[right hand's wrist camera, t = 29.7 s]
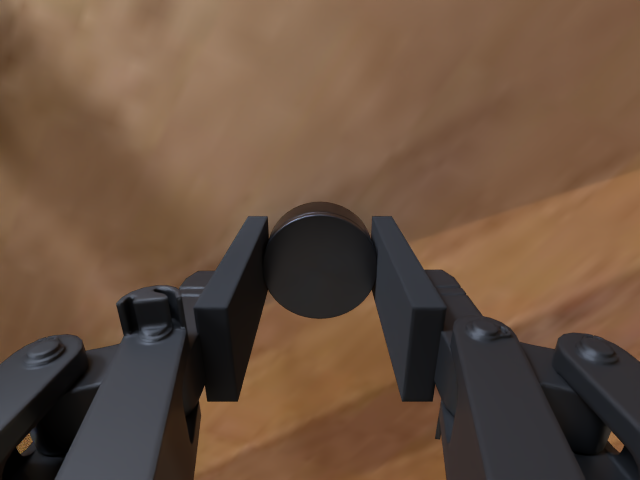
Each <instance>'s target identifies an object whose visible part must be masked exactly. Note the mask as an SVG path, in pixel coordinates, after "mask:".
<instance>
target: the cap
mask: <svg viewBox="0 0 640 480" xmlns="http://www.w3.org/2000/svg"><path fill="white" fill-rule="evenodd" d="M262 263H263V277H264V281H265V284H266V286H267V288H268V290H269V292H270V293H271V295H272V296H273V297H274V299H275V300H276V301H277V302H278V303H279V304H280V305H282V306H283V307H284V308H286V309H287V310H289V311H291V312H293V313H295V314H297V315H300V316H304V317H308V318H317V319H323V318H332V317H336V316H340V315H342V314H345V313H347V312H349V311H351V310H353V309H354V308H355V307H357V306H358V305H359V304H361V303H362V302H363V301H364V300H365V298H366V297H367V296H368V295H369V293H370V292H371V290H372V288H373V286H374V284H375V280H376V276H377V256H376V252H375V249H374V247H373V244H372V241H371V238H370V235H369V233H368V231H367V229H366V227H365V225H364V224H363V222H362V221H361V220H360V219H359V218H358V217H357V216H356V215H355V214H354V213H353V212H351V211H350V210H348V209H346V208H344V207H342V206H340V205H337V204H333V203H328V202H312V203H306V204H303V205H300V206H298V207H296V208H293V209H292V210H290V211H289V212H287V213H286V214H285V215H284V216H282V218H281V219H280V220H279V221H278V222H277V224H276V225H275V227H274V228H273V230H272V232H271V235H270V238H269V241H268V243H267V246H266V249H265V252H264V255H263V261H262Z"/></svg>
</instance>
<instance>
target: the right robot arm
mask: <svg viewBox="0 0 640 480" xmlns="http://www.w3.org/2000/svg"><path fill="white" fill-rule="evenodd" d="M268 241H269V233H268V216H248V218H247V219H246V221H245V223H244V224H243V226H242V228H241V229H240V231H239V233H238V234H237V236H236V237H235V239H234V241H233V242H232V244H231V246H230V247H229V249H228V251H227V252H226V254H225V256H224V257H223V259H222V261H221V262H220V264H219V266H218V267H217V269H216V271H197V272H196V273H194V274H193V275H191V276H189V277H188V278H186V279H185V281H184V282H183V283H182V285H181V286H180V289H177V288H176V287H172V286H167V285H158V286H150V287H145V288H141V289H138V290H135V291H132V292H130V293H129V294H127V295H125V296H123V297H122V298H121V299H120V300H119V301H118V302H117V303H116V305H117V309H118V314H119V318H120V322H121V326H122V330H123V334H124V337H123V339H122V341H121V343H120V344H117V345H113V346H108V347H103V348H98V349H92V350H87V351H85V348H84V345H83V341H82V340H81V339H80V338H79V337H78V336H74V335H68V334H65V335H54V336H48V337H47V338H46V337H45V338H41V339H39V340H37V341H35V342H33V343H31V344H28V345H26V346H24V347H23V348H21V349H20V350H18V351H17V352H15V353H14V354H12V355H11V356H10V357H9V358H7V359H6V360H5V361H4V362H2V363H1V364H0V480H194V471H195V463H196V454H197V446H198V438H199V429H200V421H201V411H200V405H199V398H200V396H201V393H202V391H203V388H204V386H205V389H206V396H207V402H238V399H239V395H240V391H241V388H242V384H243V380H244V377H245V373H246V369H247V366H248V362H249V358H250V354H251V351H252V347H253V343H254V340H255V336H256V332H257V329H258V325H259V321H260V317H261V314H262V310H263V306H264V303H265V299H266V295H267V292H268V288H267V286H266V284H265V281H264V277H263V263H262V261H263V255H264V252H265V249H266V246H267V243H268ZM371 241H372V244H373V247H374V249H375V252H376V256H377V276H376V280H375V284H374V286H373V288H372V292H373V296H374V299H375V303H376V307H377V310H378V314H379V318H380V321H381V325H382V329H383V333H384V336H385V340H386V344H387V347H388V351H389V355H390V358H391V362H392V366H393V370H394V373H395V377H396V381H397V384H398V388H399V392H400V395H401V399H402V402H433V395H434V388H435V384H436V387H437V389H438V391H439V394H440V396H441V405H440V411H439V417H438V423H437V429H436V436H435V439H440V436H441V437H442V445H443V454H444V462H445V471H446V479H447V480H640V362H639V361H638V360H637V359H635V358H634V357H633V356H632V355H630V354H629V353H628V352H627V351H625V350H624V349H622V348H620V347H619V346H617V345H616V344H614V343H612V342H609V341H607V340H605V339H603V338H601V337H598V336H595V335H594V336H593V335H590V334H582V333H568V334H563V335H562V336H561V337H560V338H558V341H557V344H556V348H555V349H551V348H546V347H540V346H535V345H530V344H526V343H522V342H519V340H518V338H517V336H516V335H515V333H514V332H513V331H512V330H511V328H509V327H508V326H506V325H505V324H503V323H502V322H499V321H497V320H494V319H492V318H489V317H484V316H482V314H481V313H480V312H479V310H478V309H477V308H476V306H475V305H474V304H473V302H472V301H471V300H470V298H469V297H468V296H467V295H466V293H465V291H464V290H463V289H462V288H461V286H460V285H459V283H458V282H457V281H456V279H455V278H454V277H453V276H451V275H449V274H448V273H446V272H445V271H443V270H424V269H423V267H422V266H421V264H420V262H419V261H418V259H417V257H416V256H415V254H414V253H413V251H412V249H411V248H410V246H409V244H408V243H407V241H406V239H405V238H404V236H403V234H402V233H401V231H400V229H399V228H398V226H397V224H396V223H395V221H394V219H393V218H392V216H372V231H371ZM611 431H612V432H613V433H614V434H615V435H616V436H617V438H618V439H619V440H620V441H621V442H622V443H623V444H624V447H623V450H622V451H621V453H620V452H618V451H617V450H616V449H615V448H614V447H613V446H612V445H611V444H610V443H609V442H608V438H609V435H610V433H611ZM29 433H30V436H31V438H32V440H33V442H32V444H31V445H30V446H29V447H28V448H27V449H26V450H25V451H24V452H22V453H21V454H20V453H19V452H18V450H17V448H16V447H17V446H18V445H19V443H20V442H21V441H22V440H23V439H24V438H25V437H26V436H27V435H28V434H29Z"/></svg>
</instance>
